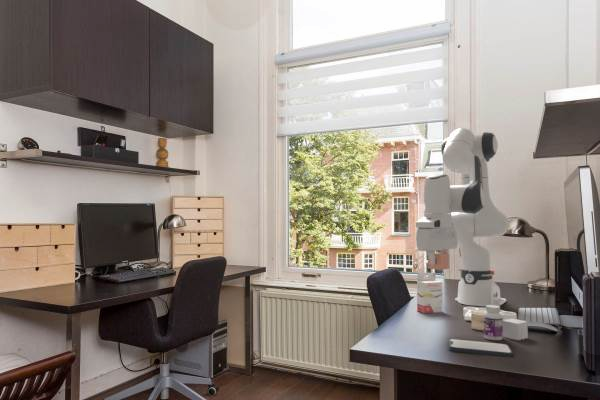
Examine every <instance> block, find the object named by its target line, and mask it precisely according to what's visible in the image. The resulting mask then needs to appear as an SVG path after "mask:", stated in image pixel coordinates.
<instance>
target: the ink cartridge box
mask: <svg viewBox="0 0 600 400" xmlns="http://www.w3.org/2000/svg"><path fill="white" fill-rule="evenodd" d="M425 276H426V277H425ZM428 276H429V277H428ZM416 297H417V298H416V307H417V308H416V311H418V312H419V313H423V314H431V313H432V314H433V313H442V312H443V281H441V280H436V272H422V273H421V272H418V273H417V281H416Z"/></svg>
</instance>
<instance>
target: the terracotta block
mask: <svg viewBox="0 0 600 400" xmlns="http://www.w3.org/2000/svg"><path fill="white" fill-rule="evenodd" d="M434 255H435V259H437V264H434V265H433V264H430V259H429V257H428V256H427V269H428V270H429V269H431V270H439V271H441V270H442V271H443V270H448V269H450V253H442V252H435V254H434Z"/></svg>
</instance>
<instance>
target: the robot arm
mask: <svg viewBox="0 0 600 400" xmlns="http://www.w3.org/2000/svg"><path fill="white" fill-rule="evenodd" d="M498 146H499V145H498V140H497V138H496V135H495V134H494V133H493V132H475V133H474V132H473V131H471V130H470V129H468V128H464V127H461V128H457V129H455V130H454V131H452V132H451V133H450V135H449V137H446V138H445V139H444V140H443V141H442V142H441V147H440V152H441V155H442V162H443V164H444V166H445V167H446V168H447V169H449V170H450V171H451V172H454V173H458V174H460V184H452V185H451V182H450V177H449V174H448V175H447V174H446V173H443V174H441V173H440V174H439V173H438V174H432V175H428V176H426V177H425V181H424V186H423V187H424V188H423V203H424V211H423V216H422V217H421V218H420V219H418V220H417V221H416V222H415V227H416V228H417V230H416V234H415V235H416V236H415V237H416V238H415V240H416V242H415V243H416V248H417V250H418V251H419V252H426V255H427V258H428V257H429V259H430V264H433V265H434V264H437V259H435V255H434V254H435V253H436V251H440V253H448V254H450V253H449V252H450V250H452V249H453V250H454V249H457V248H459V251H460V257H461V269H460V278H461V279H460V280H459V281H458V286H457V297H455V299H454V300H455V302H458V303H459V304H461V305H462V304H463V305H465V306H470V307H486V305H496V306H499V307H501V306H502V305H503V304H504V303H506V302H507V299H506V298H503V297H501V289H500V287H499V286H498V284H497V283H496V282H495V281H494V279H493V276H494V275H495V270H494V269H491V257H490V256H491V255H490V251H489V250H488V249H487V248H486V247H484V246H483V245H481V244H478V243H477V242H475V240H474V238H495V237H500V236H504V235H505V234H507V232H508V230H509V228H510V227H509V226H510V223H509V219H508V217H507V215H506V214H505V213H503V212H502V211H501V210H500V209H498V208H497V207H496V206H495V204H494V202H493V200H492V199H491V195H490V186H489V170H488V164H487V163H488V162H490V160H491V159H492V158H494V156H495V155H496V154H497V151H498Z"/></svg>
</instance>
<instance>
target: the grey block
mask: <svg viewBox="0 0 600 400" xmlns="http://www.w3.org/2000/svg"><path fill="white" fill-rule="evenodd" d="M528 323H529V322H528V321H526V320H522V319H518V318H517V319H507V320H503V338H507V339H511V340H514V341H518V340H519V341H522V340H525V338H526V339H528V338H529V336H528V335H529V333H528V332H529V329H528ZM521 339H522V340H521Z"/></svg>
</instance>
